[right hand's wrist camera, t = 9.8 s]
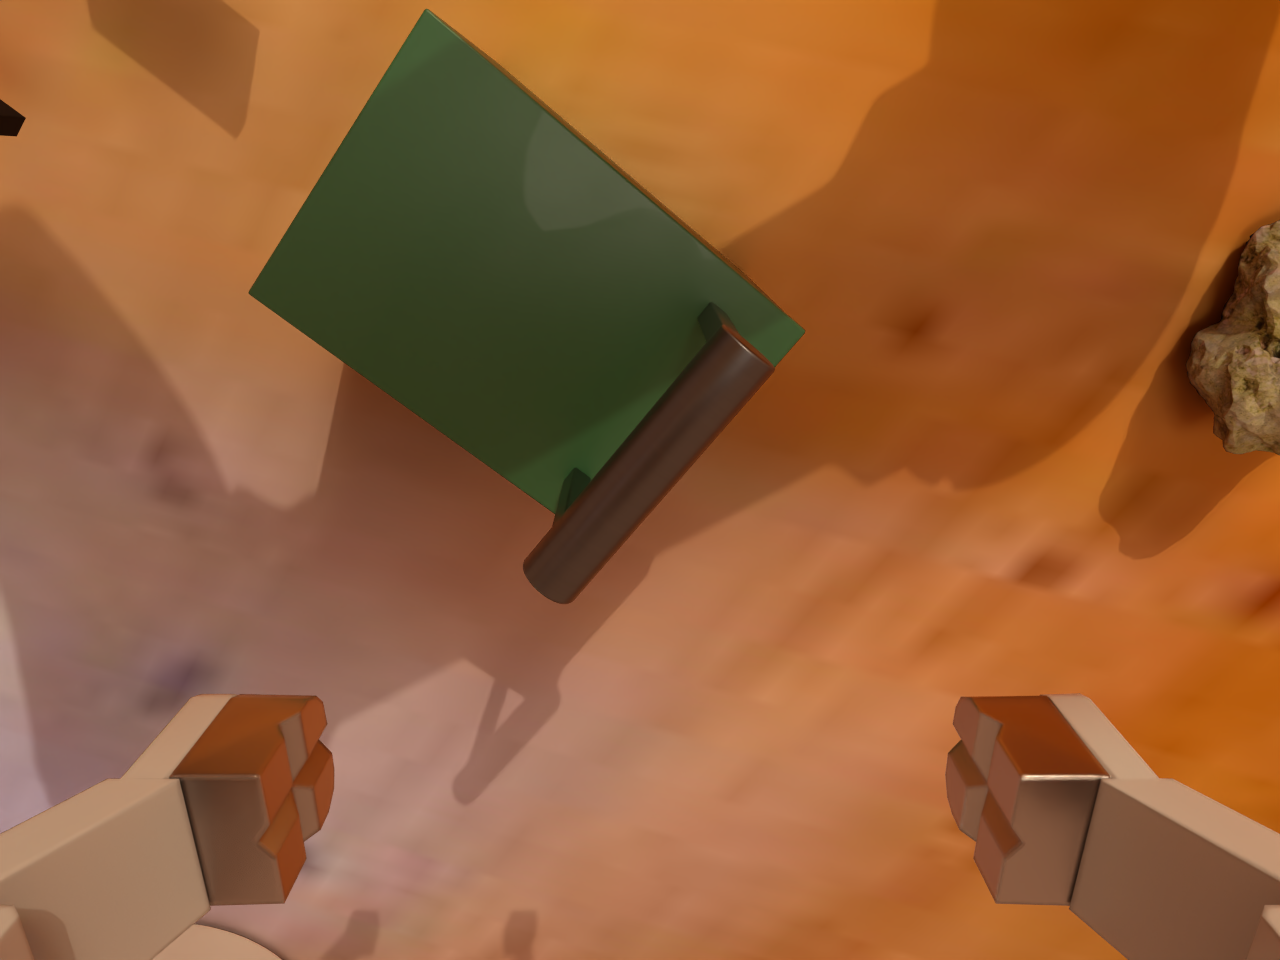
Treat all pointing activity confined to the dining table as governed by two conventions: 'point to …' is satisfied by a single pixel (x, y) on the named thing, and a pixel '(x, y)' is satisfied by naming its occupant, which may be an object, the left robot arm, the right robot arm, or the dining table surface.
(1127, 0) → the dining table surface
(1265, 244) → the rock
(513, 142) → the lid
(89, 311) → the dining table surface
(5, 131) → the left robot arm
